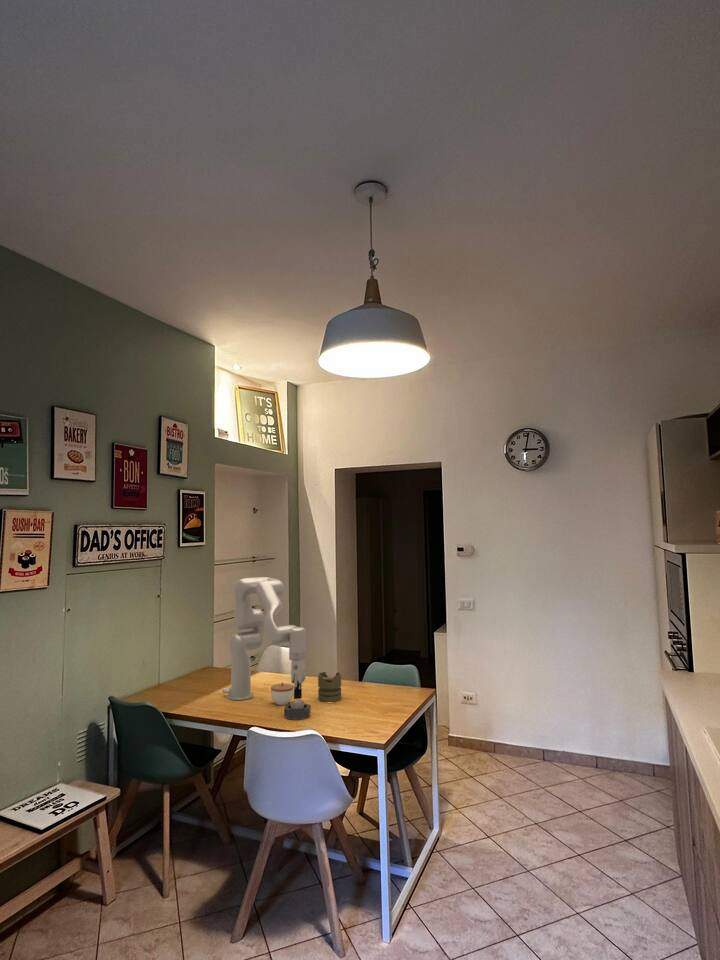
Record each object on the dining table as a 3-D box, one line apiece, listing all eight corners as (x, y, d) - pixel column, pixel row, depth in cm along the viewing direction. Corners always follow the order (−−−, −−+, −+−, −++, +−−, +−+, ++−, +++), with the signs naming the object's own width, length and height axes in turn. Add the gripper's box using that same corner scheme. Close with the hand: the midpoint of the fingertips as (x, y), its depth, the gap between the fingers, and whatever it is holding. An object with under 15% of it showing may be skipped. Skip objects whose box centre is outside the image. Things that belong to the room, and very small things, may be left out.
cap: (289, 716, 240) (289, 703, 241) (292, 711, 246) (292, 699, 247) (302, 716, 240) (302, 703, 240) (305, 712, 246) (305, 700, 246)
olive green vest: (320, 671, 275) (342, 671, 274) (320, 696, 274) (342, 696, 273) (316, 676, 264) (339, 677, 263) (316, 702, 263) (339, 703, 262)
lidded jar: (296, 700, 267) (296, 680, 268) (289, 707, 256) (289, 686, 257) (275, 699, 269) (275, 679, 270) (267, 706, 258) (267, 685, 259)
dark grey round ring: (282, 719, 238) (282, 710, 238) (287, 711, 249) (287, 702, 249) (307, 720, 237) (307, 710, 237) (311, 712, 248) (311, 703, 248)
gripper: (302, 659, 238) (303, 703, 236) (308, 652, 253) (309, 693, 251) (285, 659, 239) (285, 703, 236) (292, 652, 253) (292, 693, 251)
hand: (297, 698), depth 244 cm, fingers closed
